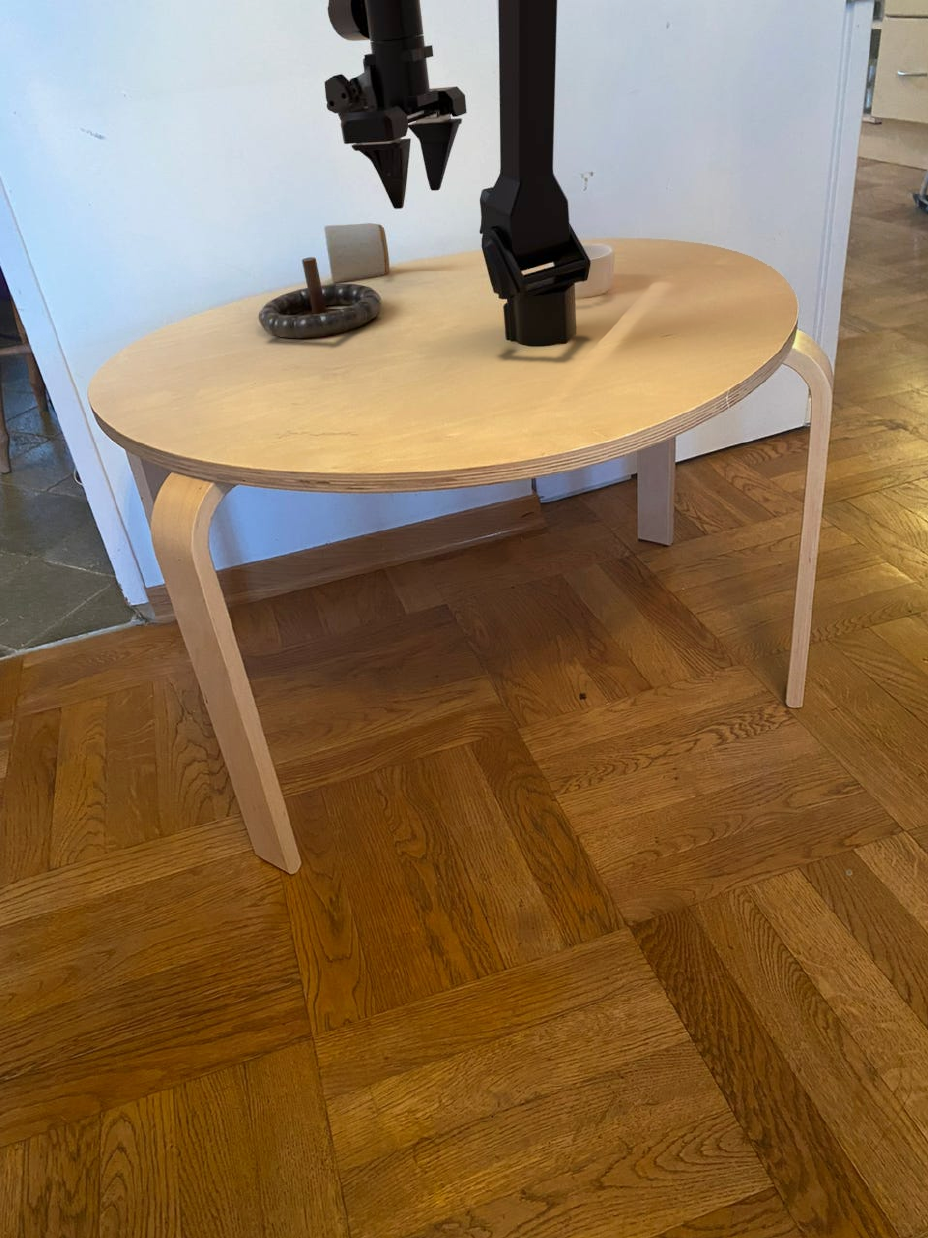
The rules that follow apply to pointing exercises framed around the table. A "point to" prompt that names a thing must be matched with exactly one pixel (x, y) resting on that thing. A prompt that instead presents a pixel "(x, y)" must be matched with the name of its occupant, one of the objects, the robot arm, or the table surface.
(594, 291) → the teacup
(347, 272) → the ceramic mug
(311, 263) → the peg stand
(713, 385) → the table surface
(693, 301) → the table surface
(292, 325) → the ring
